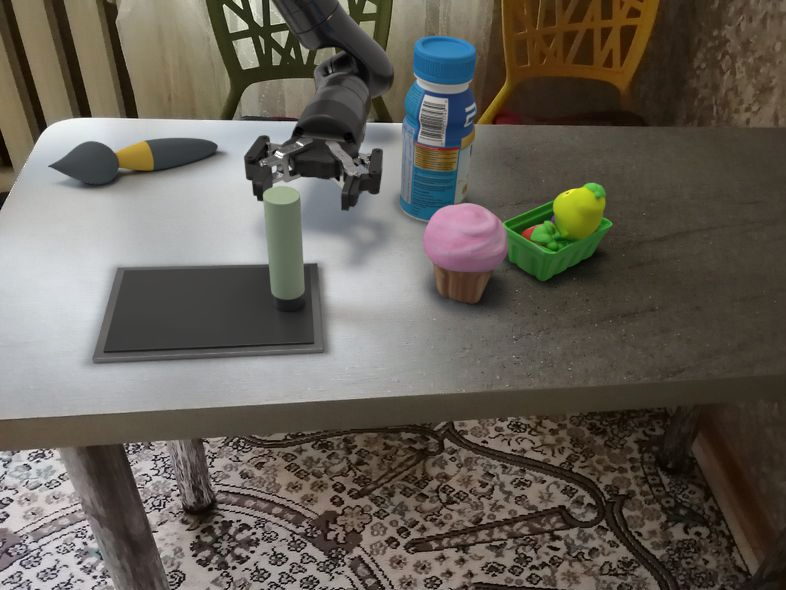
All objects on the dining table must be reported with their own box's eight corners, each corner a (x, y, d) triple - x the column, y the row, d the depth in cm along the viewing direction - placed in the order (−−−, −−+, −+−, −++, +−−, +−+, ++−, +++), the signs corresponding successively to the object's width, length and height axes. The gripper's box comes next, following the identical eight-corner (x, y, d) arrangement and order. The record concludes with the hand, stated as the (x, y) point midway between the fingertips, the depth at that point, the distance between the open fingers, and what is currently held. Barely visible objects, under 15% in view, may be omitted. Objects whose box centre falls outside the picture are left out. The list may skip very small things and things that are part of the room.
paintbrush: (204, 143, 99) (199, 107, 96) (223, 158, 97) (219, 122, 94) (50, 184, 88) (38, 145, 85) (68, 202, 86) (56, 162, 82)
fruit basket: (556, 230, 92) (575, 145, 84) (613, 264, 87) (638, 177, 80) (493, 261, 85) (506, 172, 78) (551, 299, 81) (571, 208, 73)
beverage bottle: (384, 202, 93) (390, 37, 80) (438, 186, 97) (452, 27, 84) (424, 234, 88) (438, 65, 75) (479, 216, 92) (500, 53, 79)
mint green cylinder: (271, 312, 73) (261, 203, 65) (273, 292, 75) (263, 185, 67) (305, 311, 73) (299, 204, 65) (305, 292, 75) (300, 186, 68)
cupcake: (493, 323, 77) (506, 241, 70) (411, 308, 77) (416, 225, 71) (504, 275, 83) (517, 196, 77) (429, 261, 84) (435, 182, 77)
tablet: (94, 367, 66) (91, 357, 65) (119, 275, 76) (116, 265, 76) (323, 356, 70) (323, 347, 69) (317, 270, 80) (317, 261, 80)
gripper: (268, 91, 85) (227, 156, 72) (393, 105, 85) (373, 172, 73) (272, 152, 89) (235, 222, 77) (391, 165, 90) (372, 237, 78)
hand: (302, 198), depth 75 cm, fingers open, 8 cm apart
